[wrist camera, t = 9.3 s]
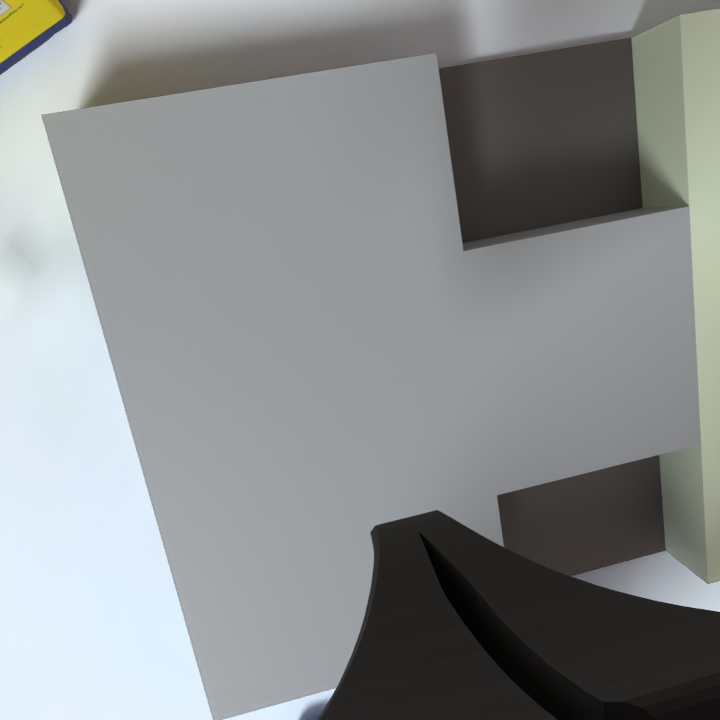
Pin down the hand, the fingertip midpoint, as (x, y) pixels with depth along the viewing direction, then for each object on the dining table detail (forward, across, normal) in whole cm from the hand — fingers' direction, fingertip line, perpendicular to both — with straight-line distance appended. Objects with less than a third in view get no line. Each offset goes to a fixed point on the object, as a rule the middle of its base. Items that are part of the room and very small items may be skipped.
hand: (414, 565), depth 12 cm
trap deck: (+9, -7, -1) cm, 12 cm away
